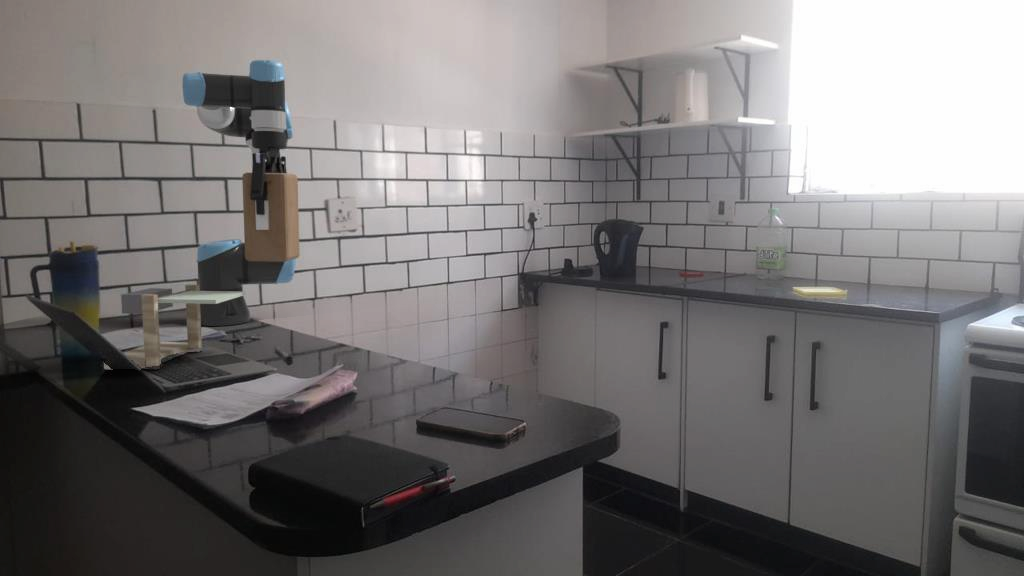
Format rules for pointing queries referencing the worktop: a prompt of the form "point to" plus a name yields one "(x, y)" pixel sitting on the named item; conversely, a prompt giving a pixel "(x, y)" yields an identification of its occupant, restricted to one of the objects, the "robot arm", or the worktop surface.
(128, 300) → the trapdoor
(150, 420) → the worktop surface
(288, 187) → the wooden block
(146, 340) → the trapdoor frame
